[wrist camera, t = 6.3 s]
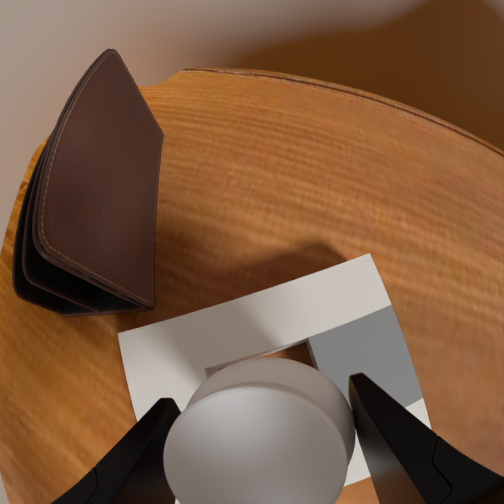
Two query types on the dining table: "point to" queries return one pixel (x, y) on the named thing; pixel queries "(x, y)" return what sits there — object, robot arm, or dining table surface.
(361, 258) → the socket block
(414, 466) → the robot arm
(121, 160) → the letter holder
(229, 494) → the supplement bottle
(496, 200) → the dining table surface
